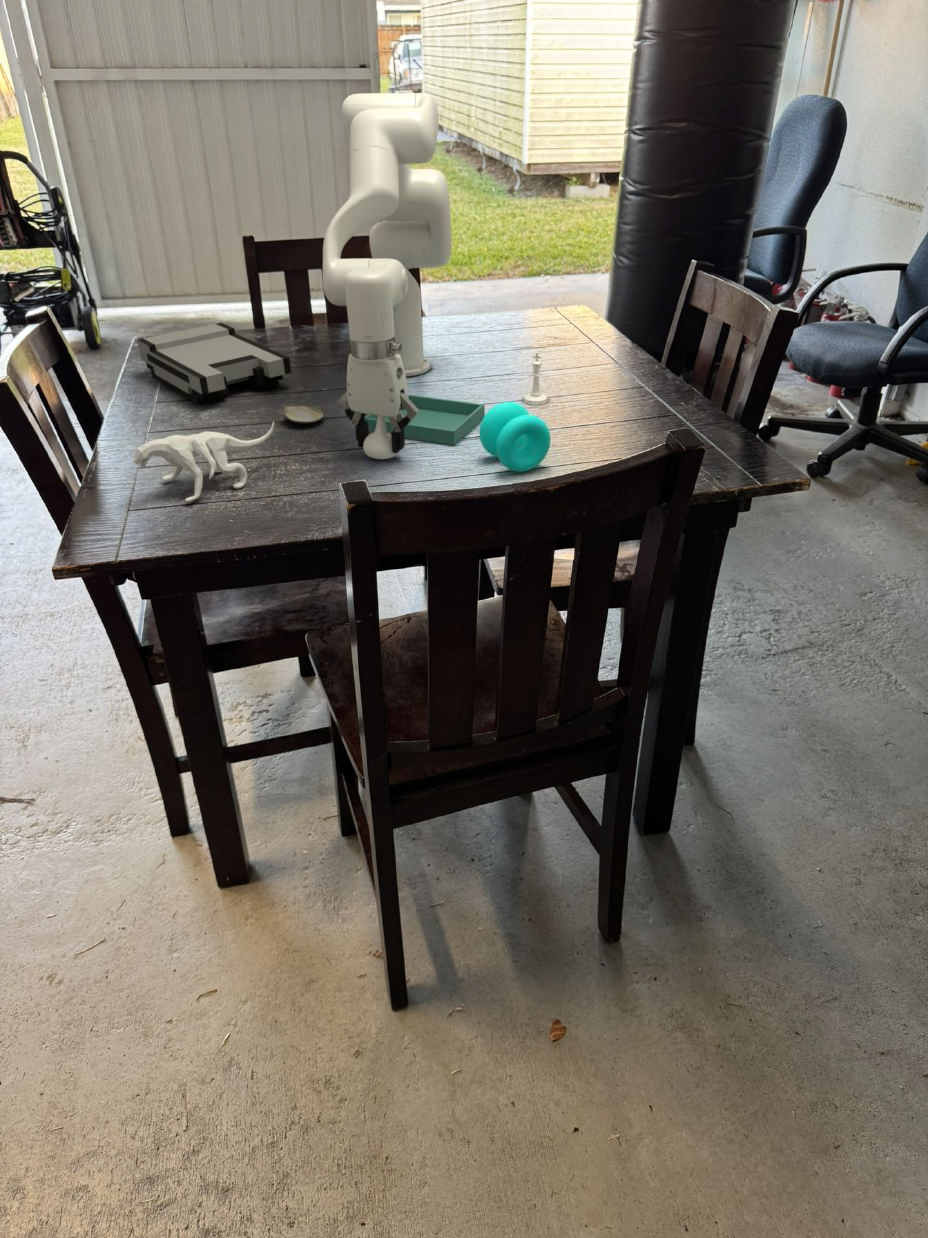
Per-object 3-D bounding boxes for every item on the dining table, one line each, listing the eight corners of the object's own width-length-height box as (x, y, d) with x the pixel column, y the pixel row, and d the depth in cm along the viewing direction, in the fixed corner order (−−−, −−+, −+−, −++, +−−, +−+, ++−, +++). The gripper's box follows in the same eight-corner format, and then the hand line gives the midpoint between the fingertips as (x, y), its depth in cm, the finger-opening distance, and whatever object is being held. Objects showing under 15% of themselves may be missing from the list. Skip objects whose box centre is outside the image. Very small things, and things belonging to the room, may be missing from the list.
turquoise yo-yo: (500, 479, 144) (501, 423, 139) (476, 457, 152) (476, 404, 146) (552, 468, 148) (554, 413, 142) (526, 448, 155) (527, 395, 150)
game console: (205, 411, 174) (197, 372, 170) (145, 375, 195) (136, 339, 190) (293, 388, 185) (288, 351, 180) (227, 356, 206) (221, 322, 201)
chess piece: (545, 405, 174) (547, 356, 168) (522, 403, 175) (523, 355, 169) (548, 397, 178) (550, 349, 172) (525, 395, 179) (526, 348, 173)
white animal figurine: (131, 490, 143) (116, 434, 138) (266, 454, 155) (257, 401, 150) (155, 516, 135) (141, 457, 129) (296, 475, 147) (288, 420, 142)
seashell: (313, 438, 166) (330, 415, 171) (312, 425, 164) (329, 402, 168) (275, 427, 167) (293, 405, 172) (273, 414, 165) (291, 392, 170)
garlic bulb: (363, 449, 155) (360, 407, 151) (397, 447, 156) (395, 405, 151) (364, 462, 150) (360, 419, 145) (399, 460, 150) (396, 417, 146)
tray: (363, 431, 163) (362, 418, 162) (399, 406, 175) (398, 393, 173) (454, 445, 157) (453, 431, 155) (484, 417, 169) (484, 404, 167)
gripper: (428, 346, 142) (433, 446, 152) (339, 336, 148) (349, 434, 158) (409, 359, 136) (414, 462, 146) (317, 348, 142) (328, 448, 152)
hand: (380, 446), depth 152 cm, fingers closed on garlic bulb, 6 cm apart
